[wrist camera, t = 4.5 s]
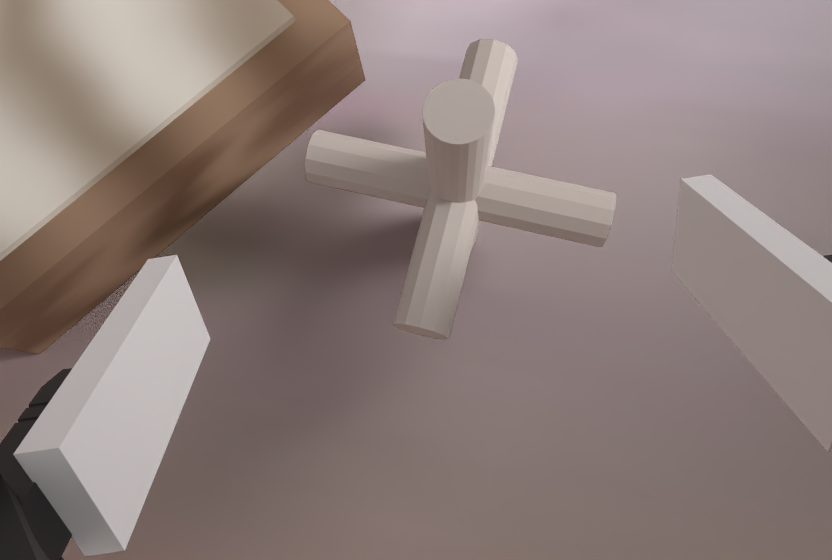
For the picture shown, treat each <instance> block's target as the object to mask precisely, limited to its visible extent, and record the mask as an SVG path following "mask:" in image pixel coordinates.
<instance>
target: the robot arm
mask: <svg viewBox="0 0 832 560" xmlns="http://www.w3.org/2000/svg"><path fill="white" fill-rule="evenodd" d="M671 271H672V272H673V273H674V275H675V276H676V277H677V278H678V279H679V280H680V282H681V283H682V284H683V285H684V286H685V287H686V288H687V290H688V291H689V292H690V293H691V294H692V295H693V297H694V298H695V299H696V300H697V301H698V302H699V304H700V305H701V306H702V307H703V308H704V309H705V310H706V312H707V313H708V314H709V315H710V316H711V317H712V319H713V320H714V321H715V322H716V323H717V324H718V326H719V327H720V328H721V329H722V330H723V331H724V333H725V334H726V335H727V336H728V337H729V338H730V339H731V341H732V342H733V343H734V344H735V345H736V346H737V348H738V349H739V350H740V351H741V352H742V353H743V355H744V356H745V357H746V358H747V359H748V360H749V361H750V363H751V364H752V365H753V366H754V367H755V368H756V370H757V371H758V372H759V373H760V374H761V375H762V377H763V378H764V379H765V380H766V381H767V382H768V384H769V385H770V386H771V387H772V388H773V389H774V390H775V392H776V393H777V394H778V395H779V396H780V397H781V399H782V400H783V401H784V402H785V403H786V404H787V406H788V407H789V408H790V409H791V410H792V411H793V412H794V414H795V415H796V416H797V417H798V418H799V419H800V421H801V422H802V423H803V424H804V425H805V426H806V428H807V429H808V430H809V431H810V432H811V433H812V434H813V436H814V437H815V438H816V439H817V440H818V441H819V443H820V444H821V445H822V446H823V447H824V448H825V450H826V451H827V452H832V255H828V256H822V255H820V254H819V253H817V252H816V251H815V250H813V249H812V248H811V247H809V246H808V245H807V244H805V243H804V242H802V241H801V240H800V239H798V238H797V237H796V236H794V235H793V234H792V233H790V232H789V231H787V230H786V229H785V228H783V227H782V226H781V225H779V224H778V223H777V222H775V221H774V220H772V219H771V218H770V217H768V216H767V215H766V214H764V213H763V212H762V211H760V210H759V209H757V208H756V207H755V206H753V205H752V204H751V203H749V202H748V201H747V200H745V199H744V198H742V197H741V196H740V195H738V194H737V193H736V192H734V191H733V190H732V189H730V188H729V187H727V186H726V185H725V184H723V183H722V182H721V181H719V180H718V179H717V178H715V177H714V176H712V175H711V174H709V175H703V176H696V177H689V178H683V179H681V182H680V192H679V202H678V211H677V221H676V231H675V241H674V251H673V261H672V270H671ZM209 341H210V336H209V334H208V331H207V329H206V326H205V324H204V321H203V319H202V316H201V314H200V311H199V309H198V306H197V304H196V301H195V299H194V296H193V294H192V291H191V289H190V286H189V284H188V281H187V279H186V276H185V274H184V271H183V269H182V266H181V264H180V261H179V259H178V256H177V255H172V256H165V257H158V258H152V259H148V260H147V261H146V263H145V264H144V266H143V267H142V269H141V270H140V271H139V273H138V274H137V276H136V277H135V279H134V280H133V282H132V283H131V285H130V286H129V287H128V289H127V290H126V292H125V293H124V295H123V296H122V298H121V299H120V300H119V302H118V303H117V305H116V306H115V308H114V309H113V311H112V312H111V313H110V315H109V316H108V318H107V319H106V321H105V322H104V324H103V325H102V326H101V328H100V329H99V331H98V332H97V334H96V335H95V337H94V338H93V340H92V341H91V342H90V344H89V345H88V347H87V348H86V350H85V351H84V353H83V354H82V355H81V357H80V358H79V360H78V361H77V363H76V364H75V366H74V367H73V368H71V369H64V370H62V371H60V372H59V373H58V374H57V375H56V376H54V377H53V378H52V379H51V380H50V381H48V382H47V383H46V384H45V385H43V386H42V387H41V389H40V390H39V391H38V393H37V394H36V396H35V397H34V398H33V400H32V401H31V402H30V404H29V408H26V409H25V411H24V412H23V413H22V415H21V416H20V418H19V419H18V423H15V424H14V426H13V427H12V428H11V430H10V431H9V433H8V434H7V435H6V437H5V438H4V439H3V441H2V442H1V444H0V560H64V559H63V558H62V554H63V552H64V550H65V548H66V546H67V544H68V542H69V540H70V538H71V537H72V539H73V540H74V541H75V543H76V544H77V546H78V547H79V549H80V550H81V551H82V553H83V554H84V556H91V555H98V554H105V553H112V552H119V551H125V549H126V547H127V544H128V542H129V539H130V537H131V534H132V532H133V529H134V527H135V525H136V522H137V520H138V517H139V515H140V512H141V510H142V507H143V505H144V502H145V500H146V497H147V495H148V492H149V490H150V487H151V485H152V482H153V480H154V478H155V475H156V473H157V470H158V468H159V465H160V463H161V460H162V458H163V455H164V453H165V450H166V448H167V445H168V443H169V440H170V438H171V435H172V433H173V431H174V428H175V426H176V423H177V421H178V418H179V416H180V413H181V411H182V408H183V406H184V403H185V401H186V398H187V396H188V393H189V391H190V388H191V386H192V383H193V381H194V379H195V376H196V374H197V371H198V369H199V366H200V364H201V361H202V359H203V356H204V354H205V351H206V349H207V346H208V344H209Z"/></svg>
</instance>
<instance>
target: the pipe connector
mask: <svg viewBox="0 0 832 560" xmlns="http://www.w3.org/2000/svg"><path fill="white" fill-rule="evenodd" d="M517 62H518V60H517V56H516V52H515V51H514V50H513V49H512V48H510V47H509V46H508V45H507V44H505V43H502V42H499V41H496V40H492V39H480V40H478V41H475V42H473V43H471V44H470V45H469V47H468V49H467V51H466V55H465V59H464V62H463V66H462V70H461V73H460V77H459V78H457V79H451V80H447V81H444V82H442V83H440V84H438V85H437V86H436V87H434V88H433V89H432V90H431V91H430V92H429V94H428V95H427V97H426V99H425V101H424V103H423V110H422V115H423V125H424V136H425V146H426V152H421V151H417V150H412V149H407V148H403V147H398V146H393V145H389V144H384V143H379V142H375V141H370V140H365V139H360V138H356V137H351V136H346V135H342V134H337V133H332V132H328V131H323V130H317V131H316V132H314V133H313V135H312V137H311V139H310V142H309V144H308V148H307V152H306V157H305V175H306V179H307V181H309V182H311V183H316V184H320V185H325V186H329V187H333V188H338V189H342V190H347V191H351V192H356V193H360V194H365V195H369V196H374V197H378V198H383V199H387V200H391V201H396V202H400V203H405V204H409V205H414V206H418V207H423V208H424V211H423V215H422V219H421V222H420V226H419V230H418V234H417V237H416V241H415V245H414V249H413V252H412V256H411V260H410V263H409V267H408V271H407V275H406V278H405V282H404V286H403V289H402V293H401V297H400V301H399V304H398V308H397V312H396V316H395V319H394V323H393V325H394V326H396V327H397V328H400V329H402V330H405V331H408V332H411V333H415V334H418V335H422V336H426V337H431V338H436V339H444V340H446V339H449V337H450V333H451V329H452V325H453V321H454V317H455V313H456V309H457V305H458V301H459V297H460V293H461V289H462V285H463V281H464V277H465V272H466V268H467V264H468V260H469V256H470V252H471V248H472V247H473V245H474V244H475V242H476V240H477V235H478V228H479V221H480V220H481V221H485V222H490V223H494V224H499V225H503V226H507V227H512V228H516V229H521V230H525V231H530V232H534V233H539V234H543V235H548V236H552V237H557V238H561V239H565V240H570V241H574V242H579V243H583V244H588V245H592V246H597V247H602V246H603V244H604V243H605V241H606V239H607V236H608V234H609V231H610V228H611V225H612V221H613V217H614V213H615V207H616V199H617V198H616V193H614V192H609V191H604V190H600V189H595V188H590V187H586V186H581V185H576V184H572V183H567V182H562V181H558V180H553V179H548V178H543V177H539V176H534V175H529V174H525V173H520V172H515V171H511V170H506V169H501V168H497V167H492V163H493V159H494V155H495V151H496V147H497V143H498V139H499V135H500V131H501V126H502V122H503V118H504V114H505V110H506V106H507V102H508V98H509V94H510V90H511V86H512V82H513V78H514V74H515V70H516V66H517Z"/></svg>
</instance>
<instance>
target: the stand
mask: <svg viewBox="0 0 832 560" xmlns="http://www.w3.org/2000/svg"><path fill="white" fill-rule="evenodd" d="M363 81H365V77H364V73H363V69H362V65H361V61H360V57H359V53H358V49H357V45H356V41H355V37H354V33H353V30H352V26H351V22H350V20H349V19H348V18H347V17H346V16H344V15H343V14H342V13H341V12H340V11H339V10H338V9H337V8H336V7H335V6H334V5H333V4H332V3H331V2H330V1H329V0H0V348H5V349H12V350H18V351H24V352H31V353H37V354H40V353H41V352H43V351H44V350H45V349H46V348H47V347H49V346H50V345H51V344H52V343H53V342H55V341H56V340H57V339H58V338H59V337H60V336H62V335H63V334H64V333H65V332H66V331H68V330H69V329H70V328H71V327H72V326H74V325H75V324H76V323H77V322H78V321H79V320H81V319H82V318H83V317H84V316H85V315H87V314H88V313H89V312H90V311H91V310H93V309H94V308H95V307H96V306H97V305H98V304H100V303H101V302H102V301H103V300H104V299H106V298H107V297H108V296H109V295H110V294H112V293H113V292H114V291H115V290H116V289H117V288H119V287H120V286H121V285H122V284H123V283H125V282H126V281H127V280H128V279H129V278H131V277H132V276H133V275H134V274H135V273H136V272H138V271H139V270H140V269H141V268H142V267H143V266H144V264H145V263H146V261H147V260H148V259H152V258H154V257H155V256H157V255H158V254H159V253H160V252H161V251H163V250H164V249H165V248H166V247H167V246H169V245H170V244H171V243H172V242H173V241H174V240H176V239H177V238H178V237H179V236H180V235H182V234H183V233H184V232H185V231H186V230H188V229H189V228H190V227H191V226H192V225H193V224H195V223H196V222H197V221H198V220H199V219H201V218H202V217H203V216H204V215H205V214H207V213H208V212H209V211H210V210H211V209H212V208H214V207H215V206H216V205H217V204H218V203H220V202H221V201H222V200H223V199H224V198H226V197H227V196H228V195H229V194H230V193H231V192H233V191H234V190H235V189H236V188H237V187H239V186H240V185H241V184H242V183H243V182H245V181H246V180H247V179H248V178H249V177H250V176H252V175H253V174H254V173H255V172H256V171H258V170H259V169H260V168H261V167H262V166H264V165H265V164H266V163H267V162H268V161H269V160H271V159H272V158H273V157H274V156H275V155H277V154H278V153H279V152H280V151H281V150H283V149H284V148H285V147H286V146H287V145H289V144H290V143H291V142H292V141H293V140H294V139H296V138H297V137H298V136H299V135H300V134H302V133H303V132H304V131H305V130H306V129H308V128H309V127H310V126H311V125H312V124H313V123H315V122H316V121H317V120H318V119H319V118H321V117H322V116H323V115H324V114H325V113H327V112H328V111H329V110H330V109H331V108H332V107H334V106H335V105H336V104H337V103H338V102H340V101H341V100H342V99H343V98H344V97H346V96H347V95H348V94H349V93H350V92H351V91H353V90H354V89H355V88H356V87H357V86H359V85H360V84H361V83H362V82H363Z"/></svg>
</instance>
